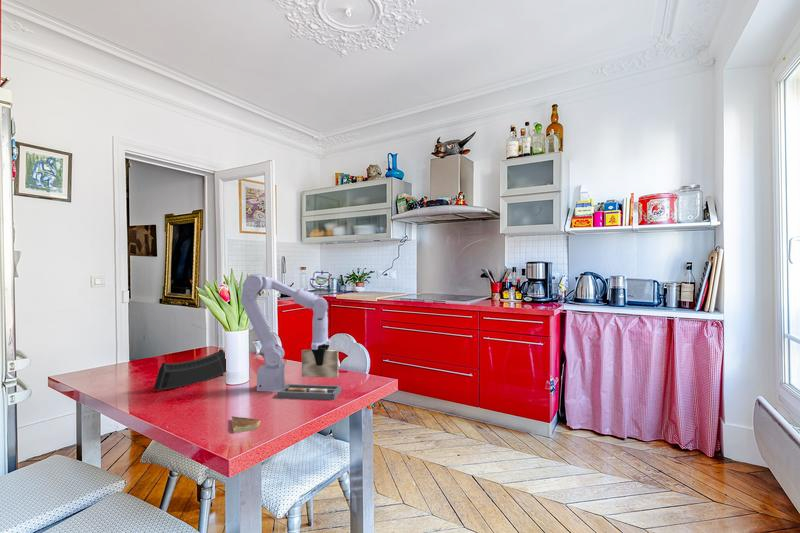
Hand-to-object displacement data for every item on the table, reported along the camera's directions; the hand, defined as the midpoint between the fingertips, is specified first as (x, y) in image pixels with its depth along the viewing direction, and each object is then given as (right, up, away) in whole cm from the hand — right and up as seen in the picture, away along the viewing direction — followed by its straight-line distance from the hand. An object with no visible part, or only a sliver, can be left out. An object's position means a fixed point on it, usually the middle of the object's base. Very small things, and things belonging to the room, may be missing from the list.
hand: (320, 364), depth 147 cm
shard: (-15, -9, -38) cm, 42 cm away
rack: (-1, -8, -11) cm, 14 cm away
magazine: (-51, -9, +6) cm, 52 cm away
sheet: (0, -5, 0) cm, 4 cm away
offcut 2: (+2, -8, -14) cm, 16 cm away
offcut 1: (-5, -8, -13) cm, 16 cm away
